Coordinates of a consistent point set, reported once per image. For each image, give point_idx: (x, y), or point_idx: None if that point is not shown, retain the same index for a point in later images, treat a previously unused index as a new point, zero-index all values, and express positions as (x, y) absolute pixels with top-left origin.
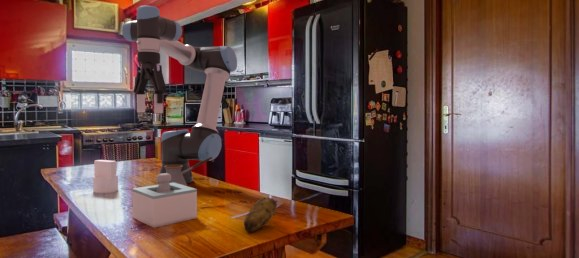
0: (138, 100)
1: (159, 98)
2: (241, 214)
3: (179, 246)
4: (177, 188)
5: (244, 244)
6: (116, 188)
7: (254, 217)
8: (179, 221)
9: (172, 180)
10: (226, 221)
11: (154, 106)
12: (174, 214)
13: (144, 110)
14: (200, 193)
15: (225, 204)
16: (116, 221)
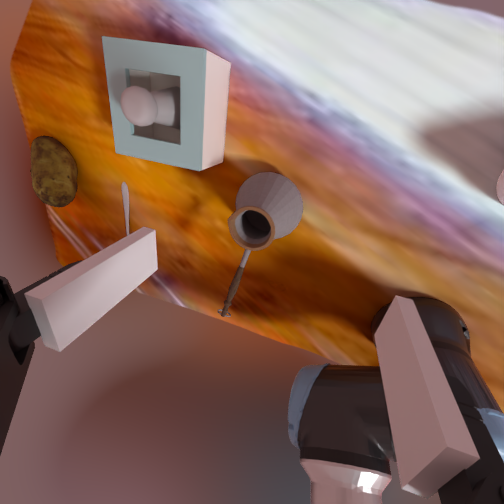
0: (418, 377)
1: (45, 281)
2: (126, 202)
3: (50, 23)
4: (152, 138)
5: (25, 102)
6: (500, 196)
7: (31, 146)
8: None
9: (243, 200)
10: (113, 163)
11: (124, 246)
12: None
13: (377, 341)
14: (280, 272)
15: (188, 235)
16: (230, 15)
